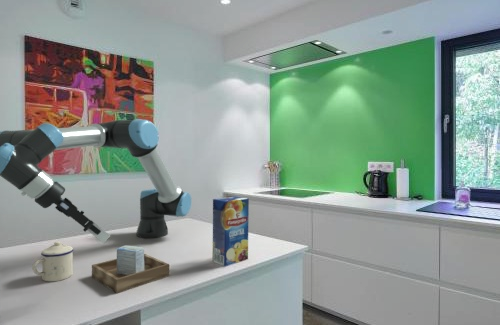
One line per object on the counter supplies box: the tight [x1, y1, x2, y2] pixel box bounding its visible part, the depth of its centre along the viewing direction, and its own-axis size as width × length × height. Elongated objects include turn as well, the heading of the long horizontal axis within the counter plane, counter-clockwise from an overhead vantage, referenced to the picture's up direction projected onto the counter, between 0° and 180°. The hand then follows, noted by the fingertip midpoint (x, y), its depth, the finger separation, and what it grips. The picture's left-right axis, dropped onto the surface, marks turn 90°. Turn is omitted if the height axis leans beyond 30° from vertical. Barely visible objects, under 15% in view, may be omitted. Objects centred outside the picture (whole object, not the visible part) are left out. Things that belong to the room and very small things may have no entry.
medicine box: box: [116, 244, 145, 275], centre depth 106 cm, size 8×4×9 cm, turn 71°
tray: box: [91, 253, 170, 294], centre depth 106 cm, size 18×18×4 cm
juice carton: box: [212, 196, 250, 267], centre depth 122 cm, size 12×8×24 cm, turn 134°
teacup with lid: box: [32, 240, 74, 282], centre depth 103 cm, size 12×9×12 cm
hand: (101, 234), depth 99 cm, fingers open, 13 cm apart
